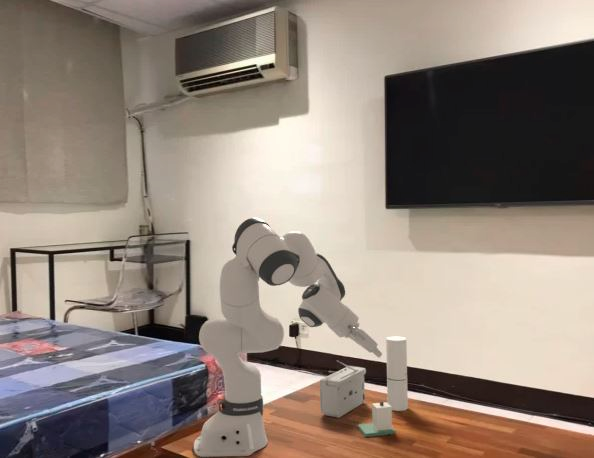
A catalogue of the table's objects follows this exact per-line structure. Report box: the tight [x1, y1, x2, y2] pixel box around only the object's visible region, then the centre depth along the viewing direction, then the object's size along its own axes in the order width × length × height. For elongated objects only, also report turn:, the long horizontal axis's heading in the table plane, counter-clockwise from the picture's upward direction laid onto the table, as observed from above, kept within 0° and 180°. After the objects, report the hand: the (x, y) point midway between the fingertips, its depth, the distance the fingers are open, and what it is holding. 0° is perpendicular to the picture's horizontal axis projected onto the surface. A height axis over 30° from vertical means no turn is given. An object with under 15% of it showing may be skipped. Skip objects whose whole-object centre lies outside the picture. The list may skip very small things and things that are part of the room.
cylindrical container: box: [385, 335, 409, 412], centre depth 197 cm, size 7×7×25 cm
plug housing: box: [371, 400, 393, 430], centre depth 176 cm, size 5×5×8 cm
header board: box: [357, 422, 397, 438], centre depth 176 cm, size 10×8×3 cm
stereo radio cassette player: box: [319, 359, 367, 419], centre depth 197 cm, size 21×8×20 cm, turn 145°
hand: (375, 352), depth 176 cm, fingers open, 8 cm apart
